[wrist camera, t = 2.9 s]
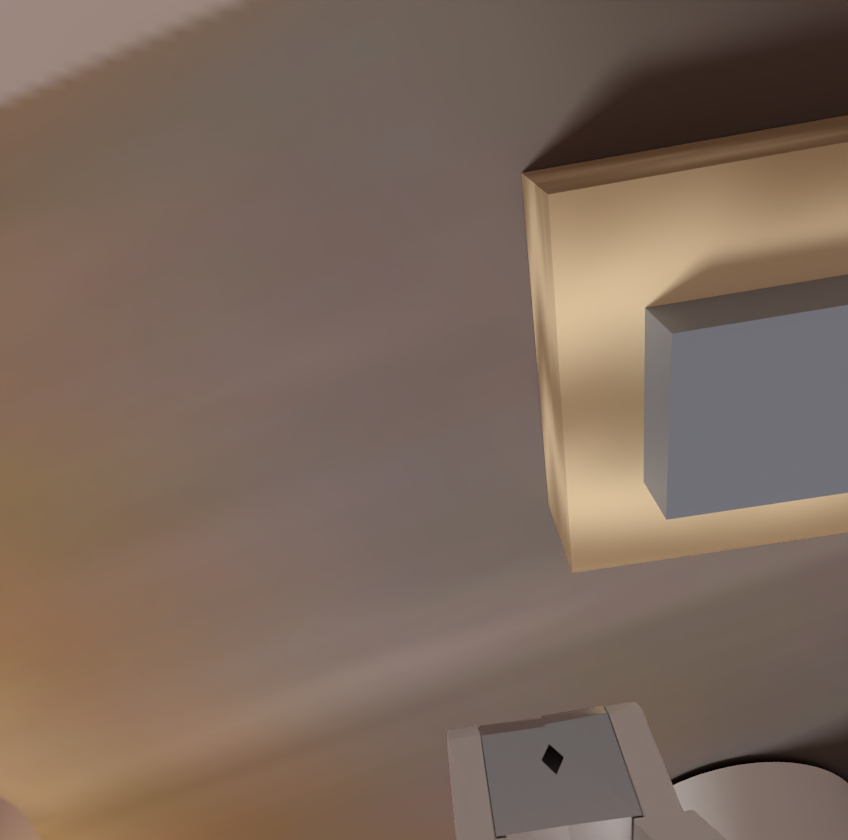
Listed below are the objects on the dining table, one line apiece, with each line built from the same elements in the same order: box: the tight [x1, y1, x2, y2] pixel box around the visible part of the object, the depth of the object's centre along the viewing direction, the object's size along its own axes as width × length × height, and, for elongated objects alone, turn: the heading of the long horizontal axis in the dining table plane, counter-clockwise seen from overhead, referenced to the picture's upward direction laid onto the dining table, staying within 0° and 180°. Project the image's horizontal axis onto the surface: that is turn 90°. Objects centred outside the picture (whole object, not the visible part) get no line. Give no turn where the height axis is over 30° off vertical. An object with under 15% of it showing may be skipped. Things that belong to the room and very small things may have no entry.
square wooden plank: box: [522, 115, 848, 573], centre depth 21 cm, size 13×16×4 cm
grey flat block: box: [644, 274, 848, 520], centre depth 18 cm, size 6×9×2 cm, turn 99°
